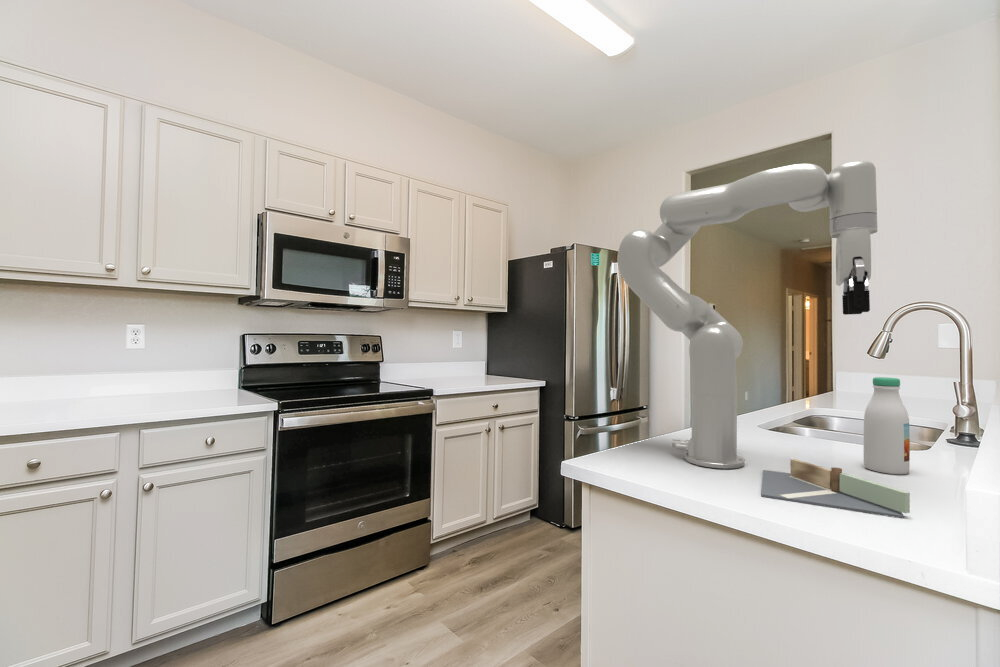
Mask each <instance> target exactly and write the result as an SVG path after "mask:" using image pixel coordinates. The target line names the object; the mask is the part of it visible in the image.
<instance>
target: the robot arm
mask: <svg viewBox="0 0 1000 667" xmlns="http://www.w3.org/2000/svg"><path fill="white" fill-rule="evenodd" d="M877 203H878V202H877V172H876V167H875V164H874V163H873V162H871V161H868V160H859V161H852V162H851V161H850V162H846V163H842V164H841V165H837V166H835V167H834V168H833V169H831V171H830V172H829V173H828V174H827V173H826V171H825V170H824V168H822V167H821V166H819V165H817V164H815V163H795V164H790V165H784V166H780V167H775V168H770V169H766V170H765V169H764V170H761V171H757V172H756V173H753V174H751V175H748V176H745V177H743V178H739V179H738V180H735V181H733V182H729V183H726V184H720V185H715V186H710V187H709V186H708V187H705V188H699V189H694V190H687V191H682V192H677V193H674V194H671V195H669V196H667V197H666V198H665V199H664V200H663V201H662V202H661V204H660V207H659V216H660V217H659V218H660V220H661V222H662V224H661V225H659V227H657V229H655V231H654V232H651V231H650V230H646V229H635V230H632V231H630V232H628V233H627V234H626V235H625V236H624V237H623V239H622V240H621V242H620V244H619V248H618V251H617V266H618V270H619V272H620V274H621V277H622V279H623V280H624V282H625V283H626V285H627V286H628V287H629V289H630V290H631V291H632V292H633V293H634V294H635V295H636V296H637V297H638V298H639V299H640V300H641V301H642V302H643V303H644V304H645V306H647V307H648V308H649V309H650V310H651V311H652V312H653V314H655V316H656V317H658V319H659V320H660V321H661V322H662V323H663V324H664V326H666V327H667V328H668V329H670V330H672V331H674V332H677V333H678V332H679V333H682V334H683V335H684V336H685V337H686V339H688V341H689V340H690V341H689V346H688V347H689V348H688V351H689V352H688V354H689V362H690V364H689V365H690V375H691V376H690V377H691V382H690V384H691V386H690V387H691V392H690V393H691V438H690V439H686V440H681V439H672V440H671V447H672V448H674V449H675V450H685V453H684V457H683V458H684V460H685V461H687V462H688V463H690V464H692V465H696V466H699V467H705V468H710V469H711V468H713V469H725V470H727V469H728V470H729V469H730V470H731V469H739V468H743V467H745V463H746V462H745V459H744V457H742V456H740V455H738V454H737V452H738V449H737V448H738V447H737V446H738V384H737V383H738V381H737V380H738V378H737V377H738V376H737V362H736V361H737V359H738V358H739V357H740V355H741V354H742V352H743V348H744V341H743V338H742V335H741V334H740V331H738V330H737V329H736V328H735V327H734V326H733V325H732V324H731V323H730V322H729V321H728V320H726V319H725V318H724V317H723V316H722V315H721V314H720V313H719V312H718V311H717V310H715V309H714V307H712V306H711V305H710V303H708V302H707V301H706V300H704V299H702V298H701V297H700V296H697V295H695V294H691V293H689V292H687V291H686V290H684V289H683V288H682V287H680V285H678V283H676V282H675V281H674V280H672V278H671V277H670V276H669V275H668V274H667V273H665V272H664V271H663V270H662V269H661V267H663V266H664V265H666V264H667V263H668V262H669V261H670V260H672V258H674V257H675V255H676V254H677V253H679V251H680V250H682V249H683V247H684V246H685V245H686V244H687V243H688V242H689V241H690V240H691V239H693V237H694V236H695V235H696V234H697V232H698V231H699V230H700V229H701V227H706V226H712V225H719V224H727V223H733V222H735V221H738V220H740V219H741V218H742V217H743V216H745V215H746V214H748V213H750V212H753V211H755V210H758V209H761V208H767V207H772V206H777V205H784V204H788V205H789V207H790V208H792V209H793V210H795V211H797V212H802V213H803V212H804V213H807V212H813V211H817V210H819V209H820V210H821V209H823V208H827V207H829V232H830V233H829V234H830V235H829V236H830V238H831V239H836V242H835V285H837V286H839V287H840V286H842V284H843V287H842V288H843V291H842V292H843V293H842V314H843V316H845V315H847V316H849V315H861V314H862V313H868V312H870V310H871V308H870V307H871V305H870V302H871V301H870V290H869V282H868V281H870V280H871V277H872V243H871V242H872V240H871V238H872V237H871V235H873V234H876V233H878V204H877Z"/></svg>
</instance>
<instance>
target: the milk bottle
mask: <svg viewBox="0 0 1000 667" xmlns="http://www.w3.org/2000/svg"><path fill="white" fill-rule="evenodd" d="M900 386H901V380H900V378H897V377H896V378H895V377H886V376H884V377H881V376H877V377H876V376H875V377H873V378H872V388H873V393H872V396H871V399H870V400H869V402H868V404H867V405H866V408H865V410H864V414H863V415H864V416H863V418H864V419H863V466H864V468H866V469H867V470H870V471H874V472H876V473H882V474H889V475H907V474H909V472H910V465H911V464H910V459H911V458H910V451H911V450H910V445H911V444H910V441H911V440H910V439H911V438H910V436H911V435H910V418H909V414H908V413H909V412H908V410H907V408H906V406H905V404H904V403H903V401H902V399H901V396H900V392H899V391H900V389H901V387H900Z"/></svg>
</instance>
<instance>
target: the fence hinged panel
mask: <svg viewBox="0 0 1000 667" xmlns="http://www.w3.org/2000/svg"><path fill="white" fill-rule="evenodd" d="M840 491H841V492H844V493H847V494H849V495H852V496H855V497H858V498H861V499H864V500H867V501H870V502H873V503H876V504H879V505H882V506H885V507H888V508H891V509H894V510H897V511H900V512H902V514H910V513H911V510H910V509H911V508H910V507H911V506H910V505H911V499H910V498H911V497H910V495H911V494H910V492H908V491H904V490H902V489H898V488H894V487H892V486H888V485H885V484H882V483H878V482H875V481H871V480H869V479H868V480H867V479H865V478H861V477H858V476H856V475H851V474H849V473H844V472H842V473H841V474H840Z"/></svg>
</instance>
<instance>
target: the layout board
mask: <svg viewBox="0 0 1000 667" xmlns="http://www.w3.org/2000/svg"><path fill="white" fill-rule="evenodd" d="M761 481H762V482H761V492H760V496H761V497H762V498H767V499H774V500H780V501H788V502H794V503H800V504H801V503H802V504H808V505H813V506H819V507H820V506H821V507H827V508H833V509H839V508H840V509H839V510H847V511H853V512H858V513H866V514H871V513H873V514H872V515H878V514H880V515H879V516H884V515H888V516H887V517H891V516H894V517H893V518H897V517H899V518H900V519H905V515H904V513H903V512H900V511H897V510H894V509H891V508H888V507H885V506H882V505H879V504H876V503H873V502H870V501H867V500H864V499H861V498H858V497H855V496H852V495H849V494H847V493H844V492H842V493H836V492H833V491H831V488H827V487H824V486H821V485H818V484H816V483H813V482H810V481H807V480H804V479H801V478H798V477H795V476H792V475H791V472H782V471H776V470H769V469H763V470H762V480H761Z"/></svg>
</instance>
